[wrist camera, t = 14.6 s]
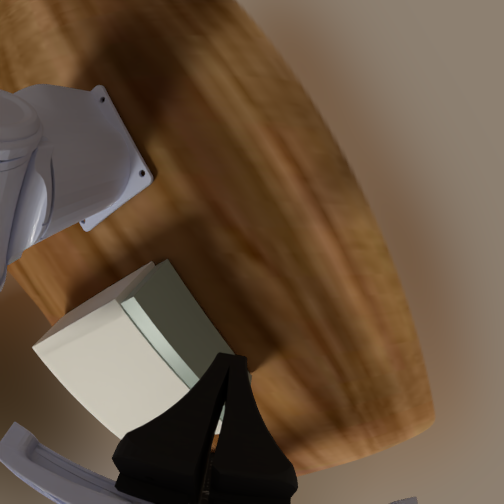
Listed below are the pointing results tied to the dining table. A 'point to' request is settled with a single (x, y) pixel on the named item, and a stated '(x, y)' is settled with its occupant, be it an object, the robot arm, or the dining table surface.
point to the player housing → (112, 361)
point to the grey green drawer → (175, 323)
